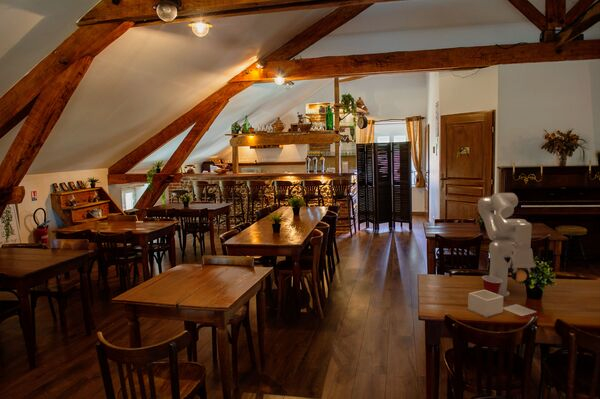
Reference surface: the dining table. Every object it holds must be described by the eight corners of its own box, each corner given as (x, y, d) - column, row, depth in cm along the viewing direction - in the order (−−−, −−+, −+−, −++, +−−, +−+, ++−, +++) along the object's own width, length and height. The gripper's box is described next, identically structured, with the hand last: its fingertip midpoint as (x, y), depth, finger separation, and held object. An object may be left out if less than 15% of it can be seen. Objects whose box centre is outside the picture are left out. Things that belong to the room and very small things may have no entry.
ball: (511, 280, 226) (511, 269, 225) (518, 278, 229) (519, 267, 228) (521, 283, 221) (522, 272, 220) (528, 281, 223) (529, 270, 222)
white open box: (467, 309, 230) (468, 293, 228) (483, 305, 235) (484, 289, 234) (486, 317, 219) (487, 300, 218) (502, 313, 224) (503, 296, 223)
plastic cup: (501, 303, 237) (502, 282, 236) (480, 300, 242) (481, 279, 241) (502, 297, 247) (503, 276, 245) (482, 293, 252) (483, 274, 250)
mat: (501, 309, 230) (501, 308, 229) (516, 304, 235) (516, 304, 235) (521, 317, 219) (521, 316, 219) (536, 312, 224) (536, 311, 224)
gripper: (509, 247, 218) (507, 281, 221) (542, 247, 218) (540, 281, 221) (502, 244, 226) (500, 277, 228) (534, 243, 226) (532, 276, 228)
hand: (520, 278), depth 224 cm, fingers closed on ball, 5 cm apart
